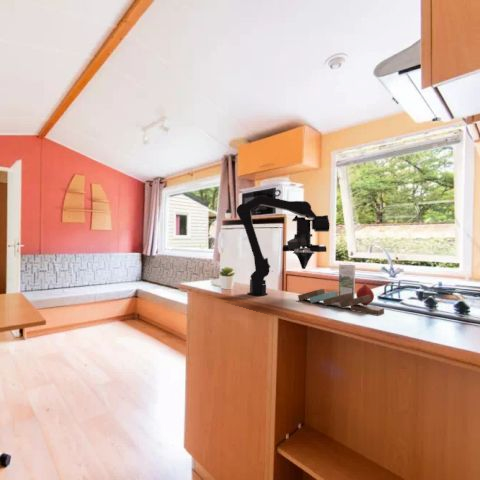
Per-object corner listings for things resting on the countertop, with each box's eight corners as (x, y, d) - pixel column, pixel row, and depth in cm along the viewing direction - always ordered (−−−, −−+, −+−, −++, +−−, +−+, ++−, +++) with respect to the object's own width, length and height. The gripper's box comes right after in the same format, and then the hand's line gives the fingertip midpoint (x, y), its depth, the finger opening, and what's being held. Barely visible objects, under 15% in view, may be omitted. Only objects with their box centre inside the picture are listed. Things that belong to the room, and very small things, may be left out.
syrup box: (354, 299, 121) (355, 263, 121) (353, 301, 116) (354, 264, 116) (339, 298, 123) (340, 262, 124) (338, 300, 118) (338, 263, 118)
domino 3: (322, 300, 108) (343, 294, 101) (330, 298, 111) (351, 292, 104) (324, 305, 107) (345, 300, 100) (332, 303, 110) (353, 298, 103)
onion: (353, 304, 111) (353, 282, 111) (368, 304, 111) (368, 282, 111) (361, 307, 105) (361, 284, 105) (376, 307, 105) (377, 284, 106)
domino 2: (309, 297, 112) (329, 292, 106) (316, 296, 115) (336, 291, 109) (310, 303, 111) (331, 297, 105) (318, 301, 114) (338, 296, 108)
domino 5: (350, 305, 100) (378, 310, 94) (356, 304, 104) (383, 308, 97) (350, 311, 100) (378, 316, 94) (356, 309, 104) (383, 314, 97)
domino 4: (339, 302, 103) (362, 296, 96) (346, 300, 106) (369, 294, 100) (341, 308, 102) (364, 302, 96) (348, 305, 105) (371, 300, 99)
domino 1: (297, 295, 116) (316, 290, 110) (305, 294, 119) (323, 288, 113) (299, 300, 115) (318, 295, 109) (306, 299, 119) (325, 294, 112)
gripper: (274, 232, 127) (274, 268, 127) (310, 230, 114) (311, 271, 113) (290, 232, 135) (290, 267, 135) (327, 231, 121) (327, 269, 121)
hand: (303, 268), depth 126 cm, fingers closed
